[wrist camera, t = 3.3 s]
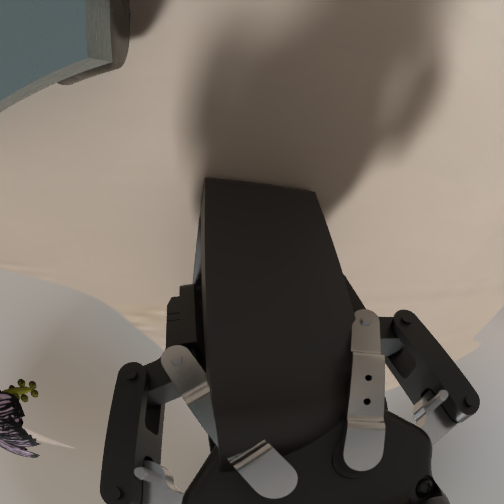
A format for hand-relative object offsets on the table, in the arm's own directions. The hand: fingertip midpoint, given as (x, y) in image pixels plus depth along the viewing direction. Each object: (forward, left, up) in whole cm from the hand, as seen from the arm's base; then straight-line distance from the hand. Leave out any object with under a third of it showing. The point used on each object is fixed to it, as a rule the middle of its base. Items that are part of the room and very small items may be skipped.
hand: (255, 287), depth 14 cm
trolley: (+10, -21, -3) cm, 23 cm away
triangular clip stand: (0, 0, -3) cm, 3 cm away
